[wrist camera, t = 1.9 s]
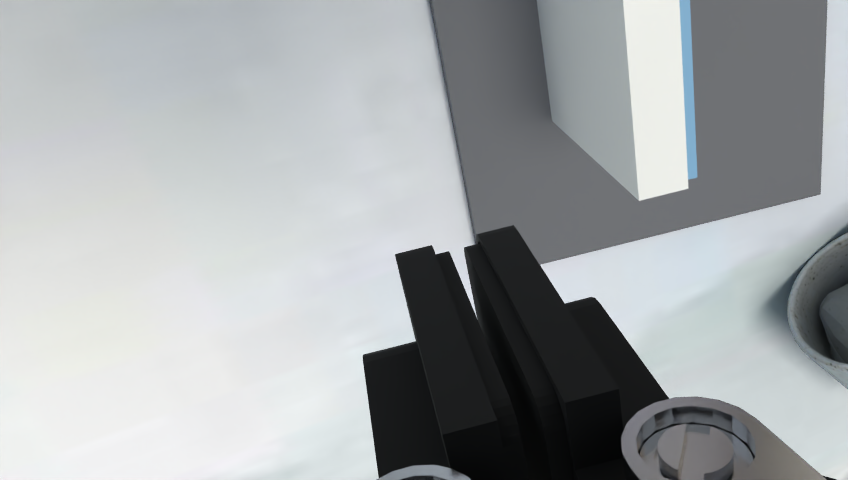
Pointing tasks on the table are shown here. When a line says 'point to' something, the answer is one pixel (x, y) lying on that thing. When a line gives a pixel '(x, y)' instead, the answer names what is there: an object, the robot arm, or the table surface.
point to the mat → (587, 180)
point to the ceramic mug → (823, 309)
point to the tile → (624, 87)
